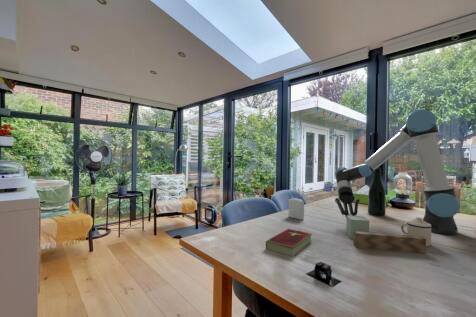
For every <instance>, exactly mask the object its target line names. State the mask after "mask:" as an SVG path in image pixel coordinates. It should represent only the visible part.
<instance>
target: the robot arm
mask: <svg viewBox="0 0 476 317" xmlns="http://www.w3.org/2000/svg"><path fill="white" fill-rule="evenodd" d="M438 134H439V130H438V126H437V117H436V115H435V113H433V111H430V110H429V109H425V108H421V109H416V110H414V111H412V112H411V113H409V114H408V115H407V117H406V120H405V124H404V125H403V126H402V127H401V128H400V129H399V132H398V133H397V134H395V135H394V136H393V137H392V138H391V139H390V140H388V141H387V142H386V143H385V144H383V145H382V146H381V147H380V148H379V149H378V150H376V152H375V153H373V154H372V155H371V156H369V157H368V158H367V159H366V160H365V161H364V162H362V163H361V164H359V165H355V166H353V167H349V168H347V167H345V166H344V167H343V166H342V167H337V168H336V170H335V171H334V173H335V174H334V175H335V176H334V177H335V180H336V186H337V192H338V197H335V199H334V202H335V203H336V205H337V207H338V209H339V211H340V213H341V215H342V216H345V219H346V221H347V215H348V216H358V211H359V210H358V208H359V202H360V199H359V198H355V196H354V192H353V189H352V188H353V187H352V184H351V182H352V181H356V180H360V179H364V178H368V177H370V176H372V172H373V173H374V170H375V169H376V168H377V167H380V166H381V165H383V164H384V163H385V162H386V161H388V160H389V159H390V158H391V157H392V156H394V155H395V154H396V153H397V152H399V151H401V150H402V149H403V148H404V147H405V146H407V145H408V144H409V143H410V142H414V144H415V148H416V152H417V156H418V160H419V164H420V167H421V171H422V175H423V179H424V183H425V188H423V190H422V191H423V194H424V199H425V203H424V206H425V207H424V211H425V212H424V215H423V218H422V220H423V221H425V222H426V223H429V224H431V225H432V228H431V233H436V234H442V235H449V236H451V235H452V236H453V235H458V233H459V228H458V226H457V224H456V221H455V219H454V216H455V215H457V214H458V213H459V211H460V208H461V204H460V201H459V200H458V198H457V194H456V191H455V188H454V186H453V185H451V184H449V182H448V177H447V174H446V171H445V167H444V164H443V159H442V156H441V152H440V149H439V145H438V141H437V138H436V137H437V136H438ZM353 202H354V207H353Z"/></svg>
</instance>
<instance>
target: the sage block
mask: <svg viewBox="0 0 476 317" xmlns="http://www.w3.org/2000/svg"><path fill="white" fill-rule="evenodd" d="M345 227H346V229H345V230H346V232H345V234H346V235H348V236H349V238H350V239H354V231H359V232H370V219H368V218H366V217H365V216H359V215H356V216H348V215H347V220H346V225H345Z"/></svg>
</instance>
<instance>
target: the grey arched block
mask: <svg viewBox="0 0 476 317" xmlns="http://www.w3.org/2000/svg"><path fill="white" fill-rule="evenodd" d="M288 217H289V218H292V219H297V220H300V221H301V220H304V219H305V202H304V200H303V199H301V198H298V197H297V198H295V197H294V198H289V199H288Z"/></svg>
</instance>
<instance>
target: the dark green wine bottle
mask: <svg viewBox="0 0 476 317" xmlns="http://www.w3.org/2000/svg"><path fill="white" fill-rule="evenodd" d="M386 196H387V195H386V189H385V187H384V183H383V182H382V169H381V167H380V166H379V167H377V168H376V169H375V170H374V171H373V178H372V182H371V185H370V187H369V188H368V198H367V199H368V200H367V214H369V216H370V215H371V216H374V217H375V216H376V217H384V216H386V213H387V212H386V206H387V204H386Z"/></svg>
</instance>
